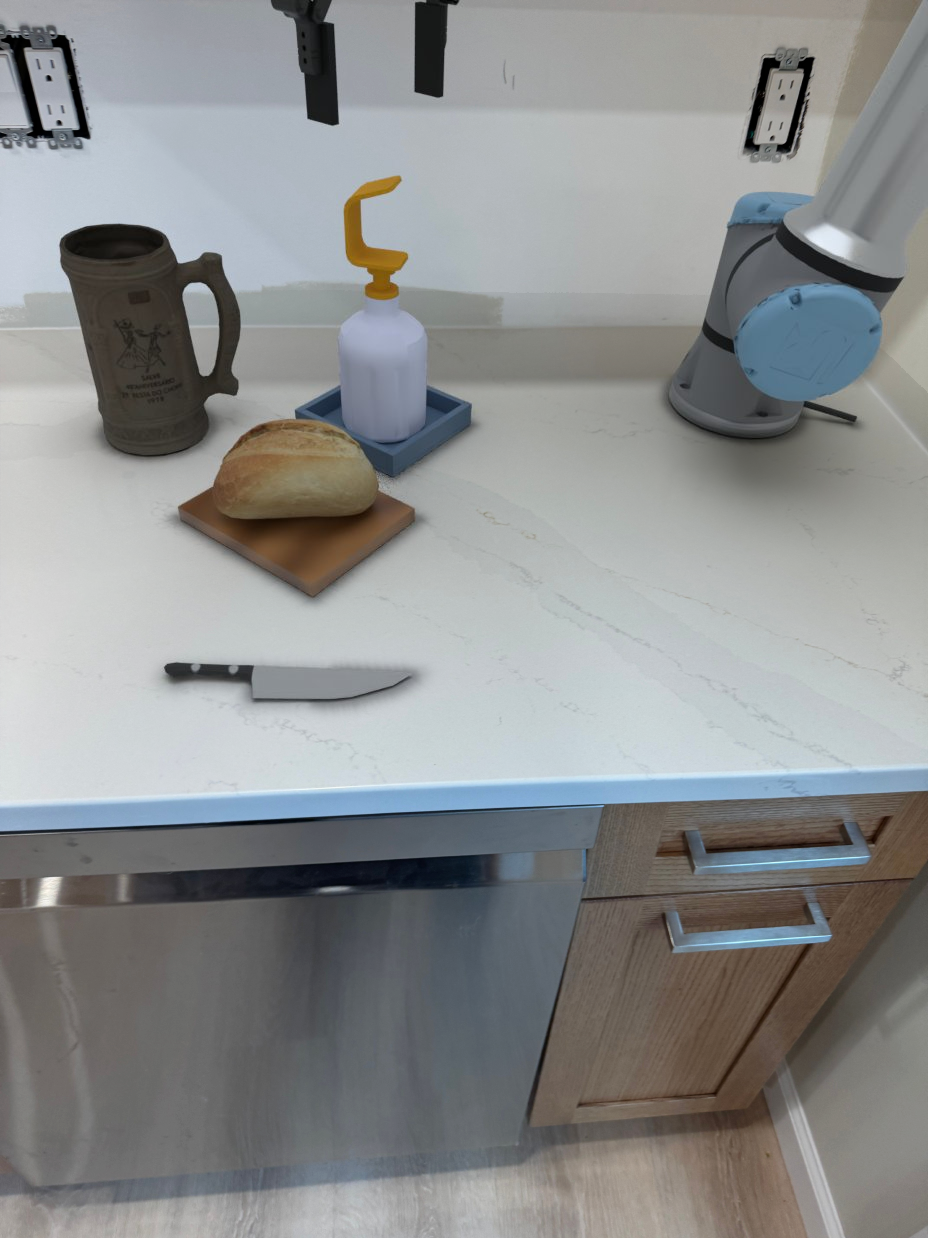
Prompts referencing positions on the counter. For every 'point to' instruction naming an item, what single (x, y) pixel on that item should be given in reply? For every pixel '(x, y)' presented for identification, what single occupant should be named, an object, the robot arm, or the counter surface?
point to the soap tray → (394, 457)
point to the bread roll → (294, 473)
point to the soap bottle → (380, 341)
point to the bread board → (302, 538)
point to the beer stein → (147, 334)
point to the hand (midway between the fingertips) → (379, 107)
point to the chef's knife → (295, 679)
